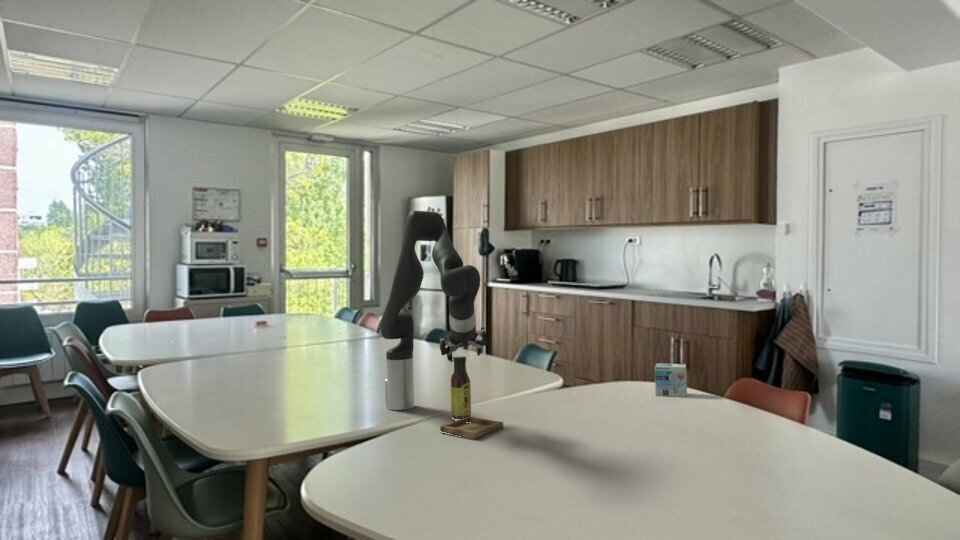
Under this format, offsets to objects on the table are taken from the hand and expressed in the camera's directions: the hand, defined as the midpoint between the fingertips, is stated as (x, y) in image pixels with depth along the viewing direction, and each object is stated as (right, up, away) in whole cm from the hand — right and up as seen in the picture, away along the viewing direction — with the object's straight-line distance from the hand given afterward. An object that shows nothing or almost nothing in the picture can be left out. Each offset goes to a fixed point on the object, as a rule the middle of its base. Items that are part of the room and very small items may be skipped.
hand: (464, 356), depth 169 cm
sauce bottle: (-1, -21, +5) cm, 22 cm away
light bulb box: (+74, -19, +31) cm, 82 cm away
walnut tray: (+2, -20, -8) cm, 22 cm away
